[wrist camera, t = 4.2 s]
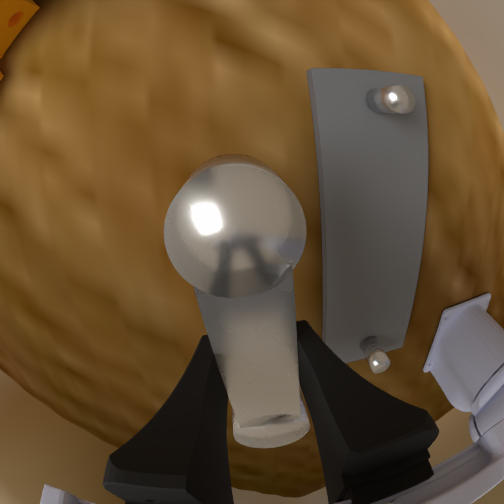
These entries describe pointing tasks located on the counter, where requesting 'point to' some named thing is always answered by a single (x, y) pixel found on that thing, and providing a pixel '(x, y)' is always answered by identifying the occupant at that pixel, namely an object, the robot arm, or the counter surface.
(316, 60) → the counter surface
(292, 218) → the ball knob lever
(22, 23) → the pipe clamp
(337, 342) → the grey metal plate
